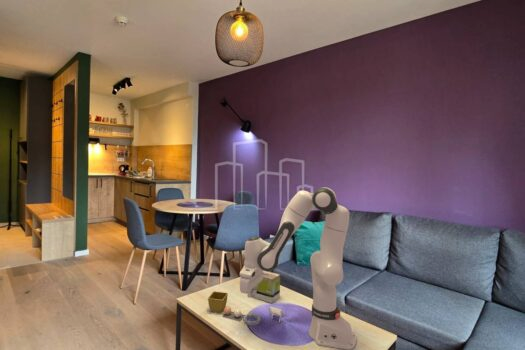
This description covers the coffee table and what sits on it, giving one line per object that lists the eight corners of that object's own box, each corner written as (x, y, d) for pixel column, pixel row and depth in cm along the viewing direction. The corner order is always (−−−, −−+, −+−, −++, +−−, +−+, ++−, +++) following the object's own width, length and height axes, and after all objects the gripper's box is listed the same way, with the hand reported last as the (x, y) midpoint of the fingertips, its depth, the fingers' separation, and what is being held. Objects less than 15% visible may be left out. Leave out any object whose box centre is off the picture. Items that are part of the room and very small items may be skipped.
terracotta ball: (232, 313, 162) (232, 306, 162) (228, 316, 158) (228, 309, 158) (226, 311, 164) (226, 304, 163) (222, 315, 160) (222, 307, 160)
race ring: (262, 320, 157) (262, 316, 157) (255, 328, 149) (255, 324, 149) (248, 316, 161) (248, 312, 160) (240, 324, 153) (240, 320, 153)
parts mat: (246, 317, 160) (246, 315, 160) (240, 323, 154) (240, 321, 154) (228, 312, 165) (228, 310, 165) (221, 318, 158) (221, 316, 158)
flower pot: (222, 316, 161) (222, 299, 160) (207, 314, 162) (207, 298, 162) (227, 308, 169) (228, 292, 169) (213, 306, 171) (213, 291, 170)
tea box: (280, 297, 184) (280, 273, 183) (271, 304, 175) (272, 279, 174) (259, 291, 192) (260, 268, 191) (250, 297, 183) (251, 273, 182)
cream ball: (243, 310, 159) (238, 306, 161) (239, 313, 155) (234, 309, 157) (240, 316, 160) (235, 312, 161) (236, 320, 156) (231, 315, 158)
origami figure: (289, 319, 158) (289, 310, 158) (278, 326, 152) (279, 316, 152) (272, 311, 167) (272, 303, 166) (261, 317, 161) (262, 308, 160)
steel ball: (257, 296, 155) (257, 288, 155) (253, 299, 152) (253, 291, 151) (250, 294, 157) (250, 286, 157) (246, 297, 153) (246, 289, 153)
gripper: (256, 261, 164) (255, 285, 165) (237, 274, 145) (237, 301, 146) (266, 263, 161) (265, 288, 162) (249, 276, 143) (248, 304, 144)
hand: (252, 294), depth 154 cm, fingers closed on steel ball, 4 cm apart
